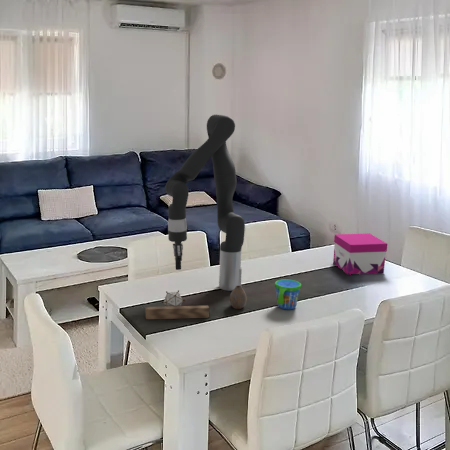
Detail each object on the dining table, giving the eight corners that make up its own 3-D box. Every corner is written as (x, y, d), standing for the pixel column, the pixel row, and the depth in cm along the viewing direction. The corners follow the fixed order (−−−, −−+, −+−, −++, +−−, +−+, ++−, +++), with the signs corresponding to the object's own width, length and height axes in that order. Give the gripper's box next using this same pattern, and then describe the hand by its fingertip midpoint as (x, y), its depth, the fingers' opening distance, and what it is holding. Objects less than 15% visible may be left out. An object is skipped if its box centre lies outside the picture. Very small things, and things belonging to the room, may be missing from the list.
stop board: (207, 315, 239) (208, 305, 238) (208, 317, 237) (208, 307, 236) (145, 316, 236) (145, 306, 235) (145, 319, 234) (145, 309, 233)
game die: (176, 321, 242) (180, 307, 235) (156, 312, 243) (160, 298, 235) (185, 304, 248) (190, 290, 241) (166, 295, 249) (170, 281, 241)
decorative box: (332, 263, 310) (334, 234, 307) (367, 261, 314) (369, 233, 311) (347, 275, 292) (350, 245, 289) (384, 273, 296) (387, 243, 293)
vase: (228, 303, 252) (229, 283, 250) (245, 303, 252) (246, 283, 250) (230, 310, 245) (230, 289, 243) (247, 310, 246) (248, 289, 243)
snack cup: (284, 298, 260) (285, 275, 257) (306, 304, 254) (308, 280, 252) (265, 309, 247) (267, 285, 244) (289, 315, 241) (290, 291, 239)
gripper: (188, 232, 244) (188, 274, 249) (185, 224, 257) (186, 263, 261) (169, 233, 243) (170, 275, 248) (167, 224, 256) (168, 264, 260)
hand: (178, 269), depth 255 cm, fingers closed
